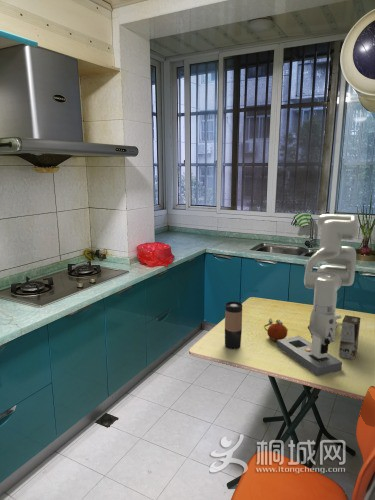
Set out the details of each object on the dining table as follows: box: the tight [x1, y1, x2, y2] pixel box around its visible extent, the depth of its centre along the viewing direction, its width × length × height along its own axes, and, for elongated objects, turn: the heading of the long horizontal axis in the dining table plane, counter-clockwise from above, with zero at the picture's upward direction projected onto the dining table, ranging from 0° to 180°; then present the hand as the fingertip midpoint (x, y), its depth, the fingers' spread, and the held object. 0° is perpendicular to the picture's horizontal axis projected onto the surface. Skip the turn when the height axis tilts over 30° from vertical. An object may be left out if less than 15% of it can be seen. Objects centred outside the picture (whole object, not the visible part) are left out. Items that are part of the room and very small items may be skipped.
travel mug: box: [224, 301, 243, 350], centre depth 164 cm, size 8×8×20 cm
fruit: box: [266, 322, 288, 342], centre depth 172 cm, size 9×9×8 cm
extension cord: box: [264, 317, 288, 332], centre depth 186 cm, size 12×16×2 cm
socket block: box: [276, 335, 343, 377], centre depth 155 cm, size 12×26×4 cm, turn 23°
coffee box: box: [338, 314, 361, 360], centre depth 157 cm, size 9×6×16 cm
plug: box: [310, 330, 329, 359], centre depth 147 cm, size 6×6×12 cm
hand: (319, 349), depth 148 cm, fingers closed on plug, 4 cm apart
